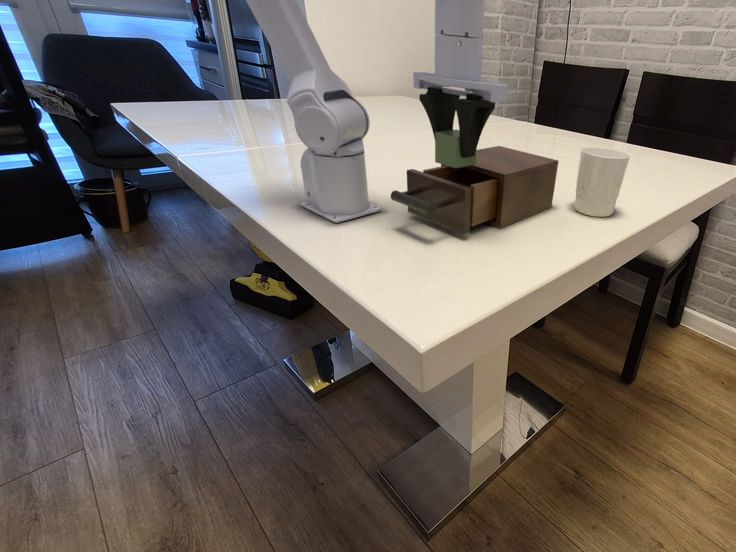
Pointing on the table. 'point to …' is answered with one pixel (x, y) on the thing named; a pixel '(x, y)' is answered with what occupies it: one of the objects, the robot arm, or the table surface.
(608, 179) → the white cup
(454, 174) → the drawer
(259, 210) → the table surface
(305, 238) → the table surface
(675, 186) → the table surface
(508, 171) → the cabinet
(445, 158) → the block
